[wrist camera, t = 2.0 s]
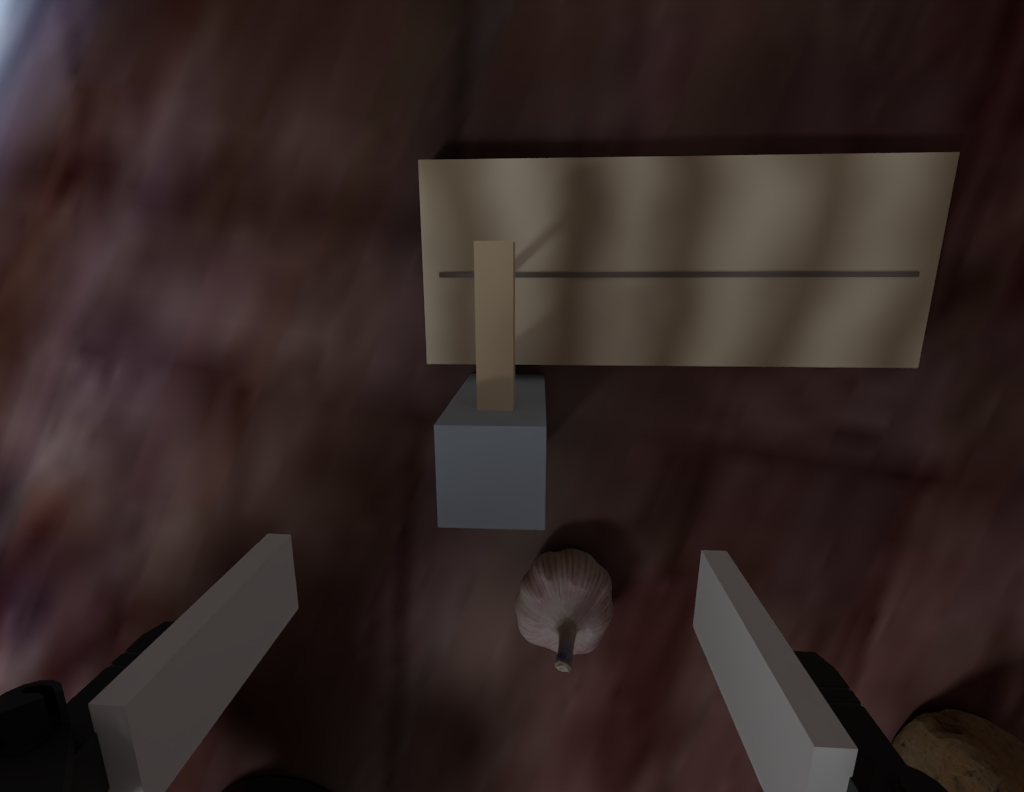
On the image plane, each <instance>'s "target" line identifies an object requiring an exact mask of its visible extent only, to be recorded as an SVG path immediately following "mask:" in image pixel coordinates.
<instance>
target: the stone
mask: <svg viewBox="0 0 1024 792" xmlns="http://www.w3.org/2000/svg"><path fill="white" fill-rule="evenodd" d="M892 746H893V747H894V748H895V750H896V751H897V752H898V754H899V755H900V756H901V758H902V759H903V760H904V762H905V763H906V764H907V765H908V766H910V767H913V768H915V769H918V770H920V771H922V772H924V773H925V774H927V775H928V776H930V777H931V778H933V779H934V780H936V781H937V782H939V783H940V784H941V785H942V786H943V787H944V788H945V789H946V790H947V791H948V792H1024V743H1023V742H1022V741H1021V740H1019V739H1018V738H1017V737H1015V736H1014V735H1013V734H1011V733H1010V732H1008V731H1006V730H1004V729H1002V728H1001V727H999V726H996V725H995V724H993V723H992V722H990V721H988V720H986V719H984V718H981V717H978V716H976V715H973V714H970V713H967V712H964V711H961V710H956V709H944V710H942V711H940V712H932V713H928V712H926V713H923V714H921V715H918V716H916V717H915V718H914V719H913V720H912V721H910V722H909V723H907V724H906V725H905V726H904V727H903V729H902V730H901V731H900V732H899V733H898V735H897V736H896V737H895V739H894V741H893V743H892Z"/></svg>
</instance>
